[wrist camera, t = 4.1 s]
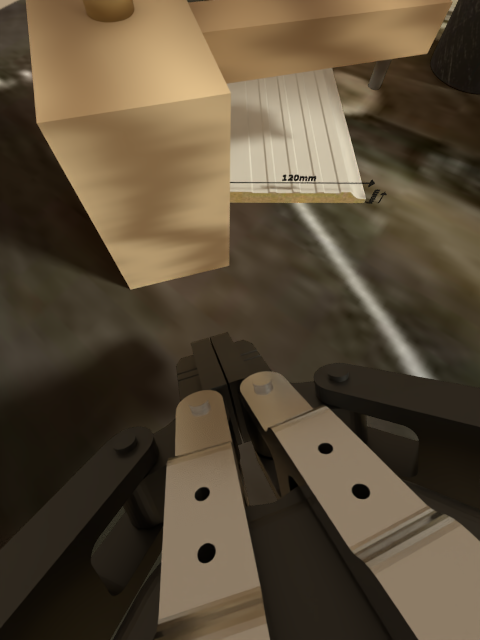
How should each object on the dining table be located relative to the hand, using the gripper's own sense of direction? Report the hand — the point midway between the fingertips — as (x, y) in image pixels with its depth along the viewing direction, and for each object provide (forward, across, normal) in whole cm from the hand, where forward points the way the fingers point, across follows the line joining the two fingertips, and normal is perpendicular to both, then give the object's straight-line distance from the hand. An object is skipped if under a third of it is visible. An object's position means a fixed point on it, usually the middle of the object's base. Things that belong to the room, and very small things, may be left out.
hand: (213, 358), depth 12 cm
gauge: (+12, -6, -6) cm, 15 cm away
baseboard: (+21, -13, -14) cm, 29 cm away
